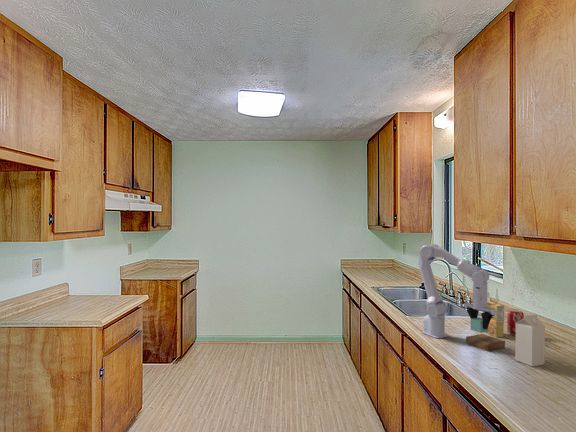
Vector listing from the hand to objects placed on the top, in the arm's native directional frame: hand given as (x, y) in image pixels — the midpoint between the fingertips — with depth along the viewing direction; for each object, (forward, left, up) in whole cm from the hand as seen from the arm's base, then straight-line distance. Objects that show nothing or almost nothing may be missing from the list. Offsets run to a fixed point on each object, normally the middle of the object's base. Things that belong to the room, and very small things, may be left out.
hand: (479, 327), depth 167 cm
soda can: (-5, +32, -9) cm, 33 cm away
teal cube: (0, 0, -2) cm, 2 cm away
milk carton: (+21, +2, -9) cm, 23 cm away
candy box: (-9, +22, -9) cm, 25 cm away
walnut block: (+1, +3, -9) cm, 9 cm away
